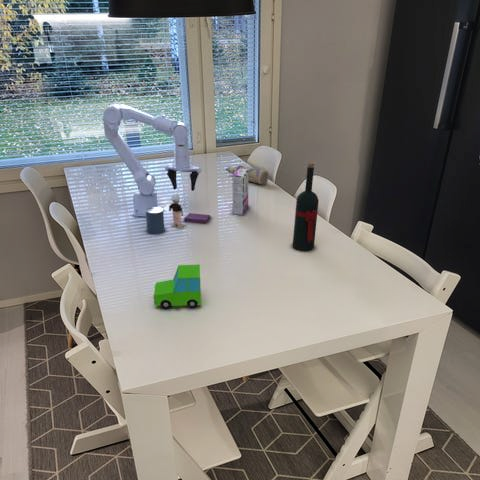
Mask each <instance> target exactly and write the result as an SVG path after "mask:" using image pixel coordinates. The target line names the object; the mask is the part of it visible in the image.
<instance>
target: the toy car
mask: <svg viewBox="0 0 480 480" xmlns="http://www.w3.org/2000/svg"><path fill="white" fill-rule="evenodd" d="M201 292H202V291H201V264H178V265H177V268H176V271H175V274H174V276H173V279H168V280H163V281H157V282H155V284H154V292H153V300H154V302H153V303H154V306H155V307H161V308H162V309H163V310H169V309H170V308H171V307H176V306H177V307H179V306H187V307H188V308H189V309H196V308H197V307H198V306H201V305H202V293H201Z"/></svg>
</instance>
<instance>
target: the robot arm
mask: <svg viewBox="0 0 480 480" xmlns="http://www.w3.org/2000/svg"><path fill="white" fill-rule="evenodd" d="M130 120H133V121H136V122H138V123H142V124H146V125H149V126H152V127H153V129H154V131H155V132H159V133H161V134H165V135H167V136H170V137H173V140H174V143H173V149H174V164H166V165H165V166H164V171H165V172H167V173H166V175H167V177H168V179H169V180H170V182H171V185H172V188H173V190H176V189H177V188H178V183H177V172H179V173H181V172H182V173H189V177H190V189H191V190H190V191H191V192H194V191H195V189H196V183H197V180H198V177H199V175H200V174H201V172H202V167H201V166H195V165H191V161H190V144H189V137H188V136H189V127H188V125H187V124H186V123H185V122H183V121H178V119H171V118H168V117H166V114H161V115H160V114H158V115H155V116H153V115H151V114H149V113H146V112H143V111H141V110H139V109H136V108H134V107H131V106H128V105H127V104H120V103H118V102H113V103H110V104H109V105H108V106H107V107H106V108H105V109H104V111H103V115H102V122H103V131H104V136H105V138H106V139H107V140H108V142H109V143H110V144H111V146H112V147H113V149H114V151H115V152H116V153H117V155H118V156H119V157H120V159H121V160H122V162H123V163H124V165H125V166H126V168H127V169H128V170H129V172H130V173H131V174H132V177H133V180H134V182H135V184H136V185H137V191H135V192H134V194H133V197H132V205H133V213H134V214H133V216H134V217H145V218H146V209H147V208H151V207H159V206H158V204H159V203H158V192H157V190H156V189H155V186H156V183H157V181H156V177H155V176H154V175H153V174H151V173H150V172H149V171H148V170H147V169H146V168H145V167H144V166H143V164H141V163H140V161H139V159H138V158H137V157H136V155H135V154H134V152H133V151H132V149H131V148H130V146H129V145H128V144H127V142H126V140H125V139H124V137H123V136H122V134H120V127H121V123H122V122H126V121H127V122H128V121H130Z"/></svg>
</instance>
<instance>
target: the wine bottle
mask: <svg viewBox="0 0 480 480" xmlns="http://www.w3.org/2000/svg"><path fill="white" fill-rule="evenodd" d="M314 169H315V164H314V162H308V163H307V167H306V177H305V178H306V179H305V188H304V189H305V190H304V191H302V192H300V193H299V194H298V195H297V197H296V201H295V202H296V203H295V204H296V205H295V214H294V225H293V236H292V249H294V250H296V251H299V252H311V251H313V250H314V249H315V241H316V231H317V221H318V211H319V202H320V201H319V200H320V199H319V197H318V195H317V194H316V192H314V191H313V181H314V171H315V170H314Z"/></svg>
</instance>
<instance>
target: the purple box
mask: <svg viewBox="0 0 480 480" xmlns="http://www.w3.org/2000/svg"><path fill="white" fill-rule="evenodd" d="M210 219H211V215H210V214H206V213H205V214H204V213H195V212H194V213H193V212H189V213H188V214H187V215H186V216H185V217H184V220H183V221H184V222H185V223H195V224H206V225H207V223H208V222H209V220H210Z"/></svg>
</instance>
